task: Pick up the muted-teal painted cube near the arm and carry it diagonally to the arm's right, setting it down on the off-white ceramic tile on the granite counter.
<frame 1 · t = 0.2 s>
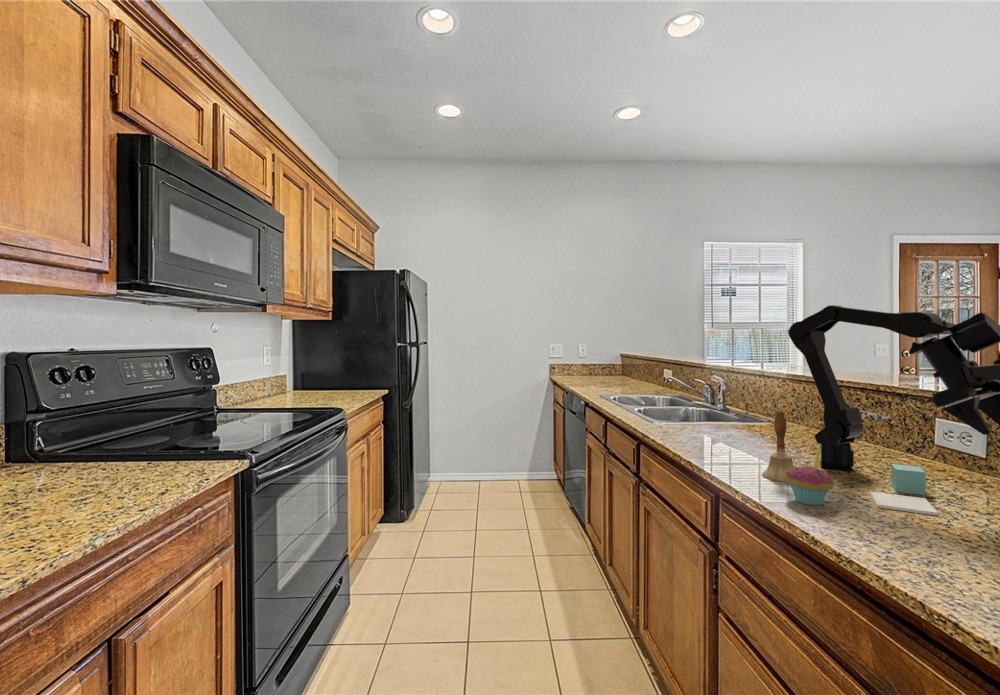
hand: (998, 431, 97), 14 cm above the worktop, tool tilted 30°, fingers open, 9 cm apart
hand bell: (781, 478, 116), on the worktop
tile: (901, 504, 96), on the worktop
cube: (907, 490, 105), on the worktop
cupcake: (808, 502, 98), on the worktop
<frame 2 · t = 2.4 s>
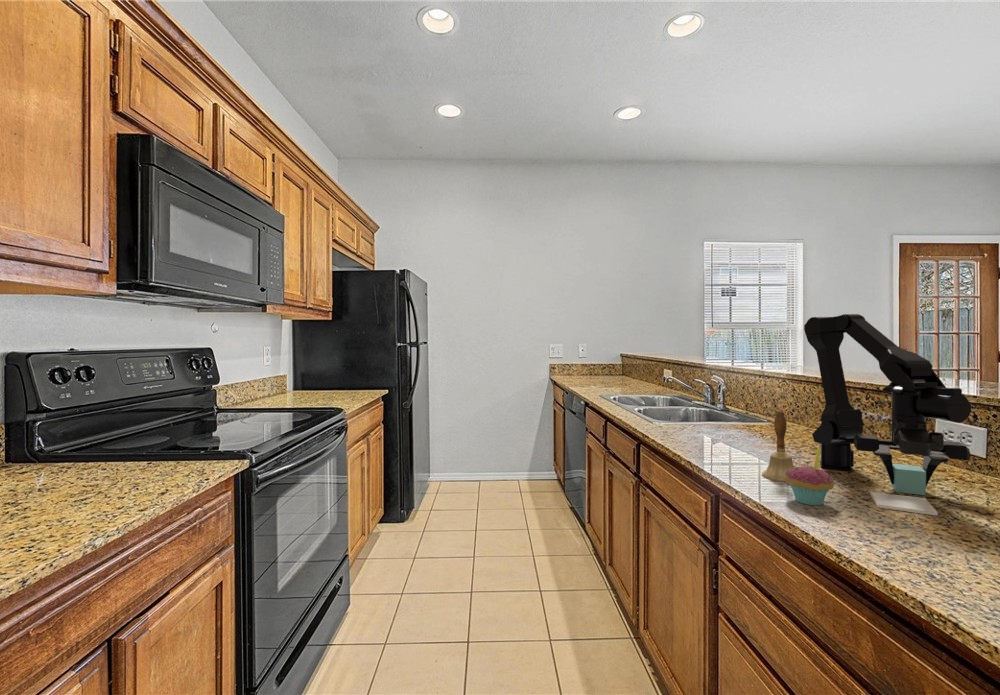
hand: (907, 485, 105), 1 cm above the worktop, tool pointing down, fingers closed on cube, 5 cm apart
cube: (907, 490, 105), on the worktop, touching gripper
everything else where it was.
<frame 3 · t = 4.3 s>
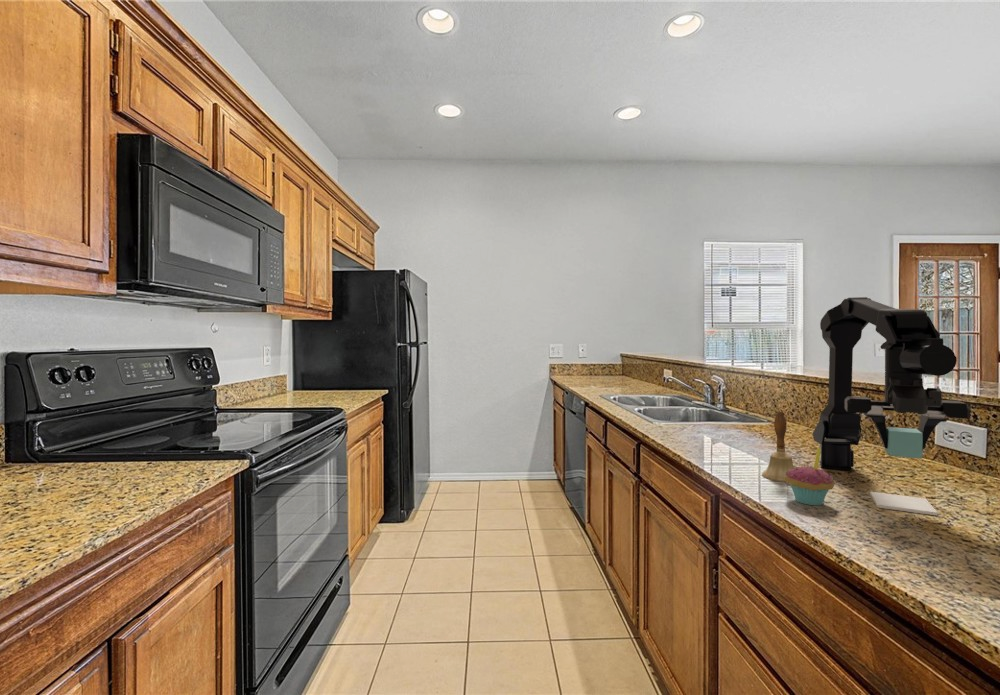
hand: (902, 449, 96), 11 cm above the worktop, tool pointing down, fingers closed on cube, 5 cm apart
cube: (903, 454, 96), point 10 cm above the worktop, touching gripper
everything else where it was.
when the fingers open (2 cm above the worktop, at t = 6.2 s): cube stays where it is, resting on tile.
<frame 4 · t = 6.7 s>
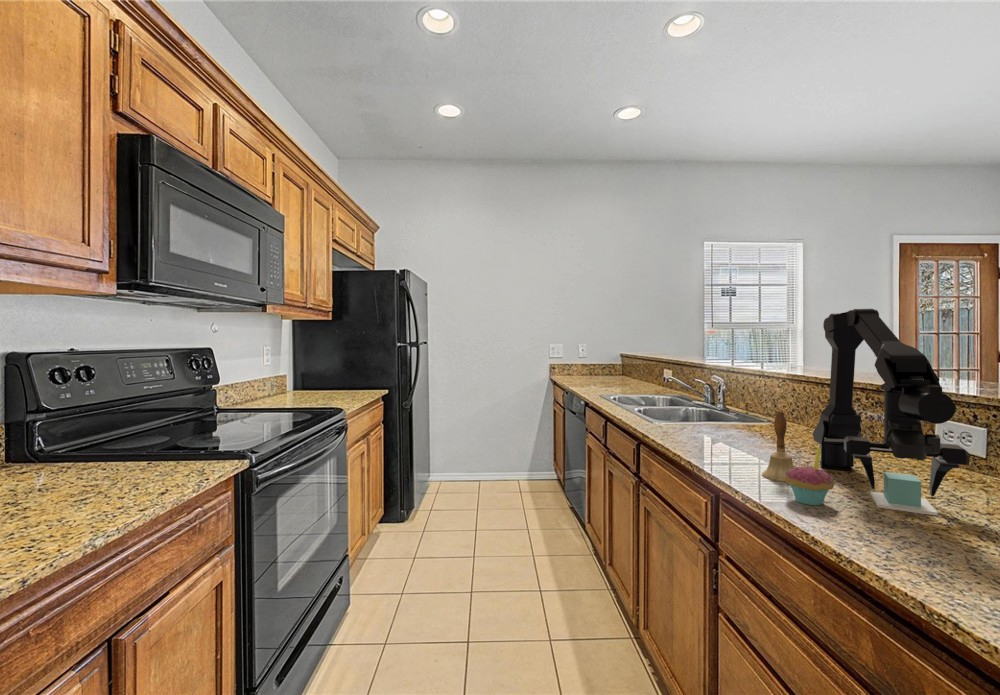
hand: (901, 492, 96), 2 cm above the worktop, tool pointing down, fingers open, 9 cm apart
cube: (901, 501, 96), point 1 cm above the worktop, touching tile
everything else where it was.
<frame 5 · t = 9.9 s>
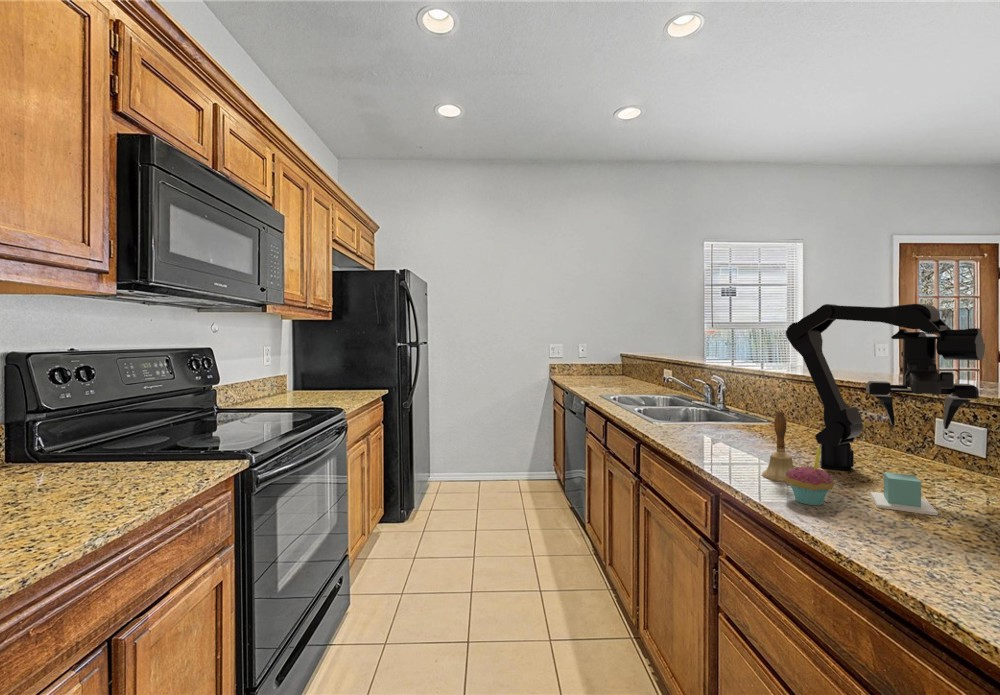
hand: (918, 427, 109), 13 cm above the worktop, tool pointing down, fingers open, 9 cm apart
nothing on the worktop moved.
at the end: cube inside the target area on the tile (0.0 cm from its centre), point 0.6 cm above the tile's base; cube tilted 0°; the gripper is holding nothing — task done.
